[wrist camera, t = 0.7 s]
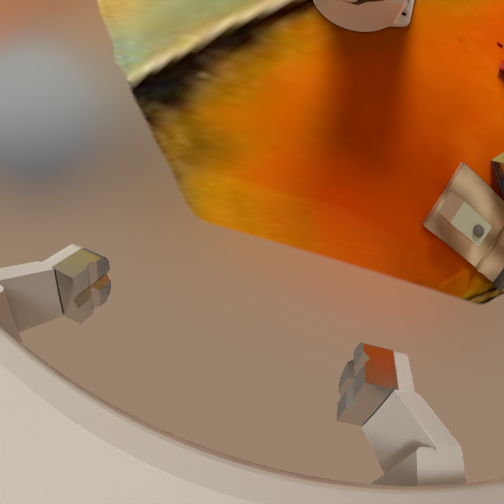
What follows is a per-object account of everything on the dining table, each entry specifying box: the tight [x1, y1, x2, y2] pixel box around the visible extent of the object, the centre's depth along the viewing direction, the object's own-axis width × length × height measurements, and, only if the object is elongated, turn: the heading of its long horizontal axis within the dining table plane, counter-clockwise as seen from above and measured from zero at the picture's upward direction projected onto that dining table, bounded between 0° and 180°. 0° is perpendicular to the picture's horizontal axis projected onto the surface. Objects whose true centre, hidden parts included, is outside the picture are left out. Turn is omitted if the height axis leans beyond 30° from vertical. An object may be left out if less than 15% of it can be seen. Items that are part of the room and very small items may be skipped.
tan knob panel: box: [422, 162, 504, 292], centre depth 40 cm, size 13×22×4 cm, turn 64°
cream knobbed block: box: [438, 192, 492, 247], centre depth 38 cm, size 4×7×7 cm, turn 64°
